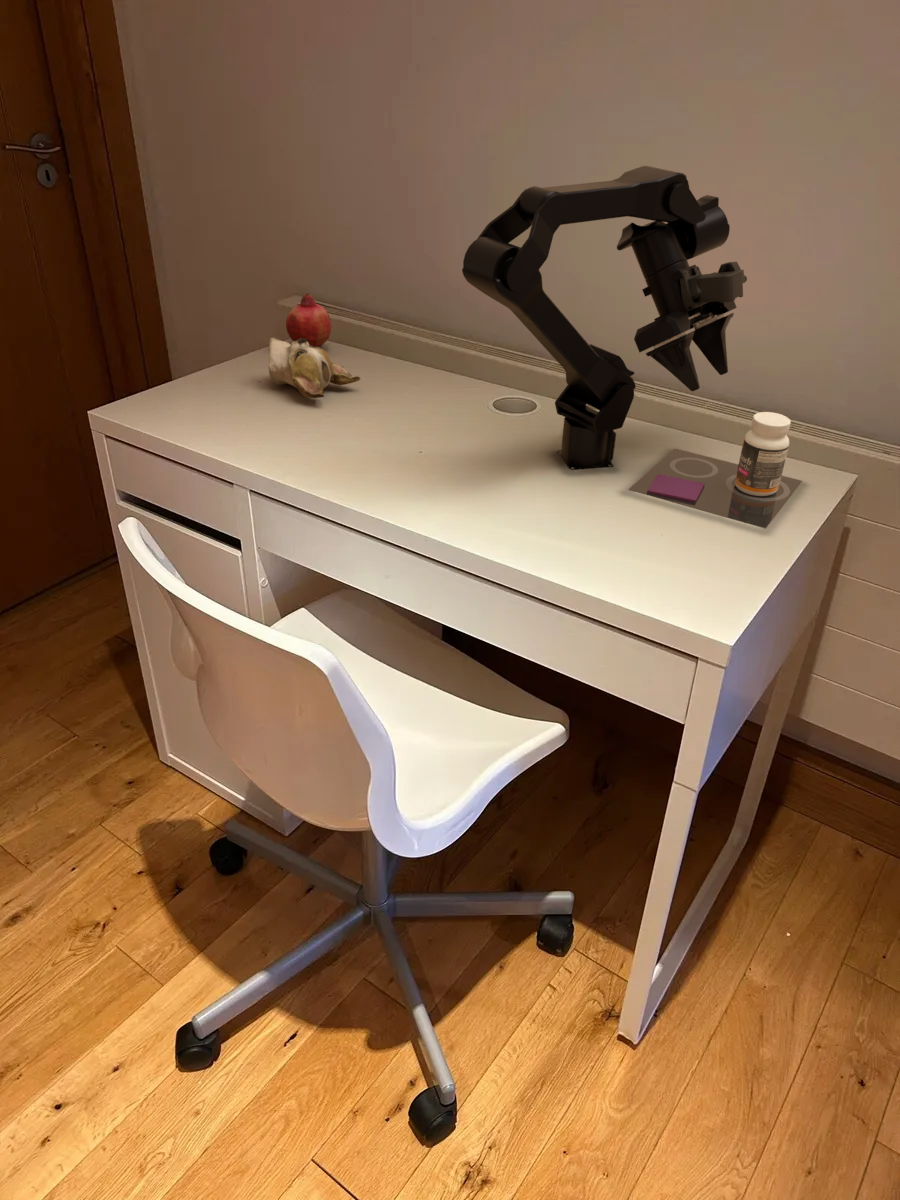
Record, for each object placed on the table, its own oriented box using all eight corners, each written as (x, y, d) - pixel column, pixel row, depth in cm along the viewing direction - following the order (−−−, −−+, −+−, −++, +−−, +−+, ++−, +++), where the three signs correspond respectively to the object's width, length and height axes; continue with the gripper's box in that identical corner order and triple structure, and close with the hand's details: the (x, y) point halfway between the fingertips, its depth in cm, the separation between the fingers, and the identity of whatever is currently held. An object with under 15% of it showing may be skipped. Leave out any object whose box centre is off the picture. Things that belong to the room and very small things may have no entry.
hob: (764, 532, 116) (765, 528, 116) (627, 493, 124) (627, 489, 124) (801, 484, 128) (802, 480, 127) (673, 451, 136) (674, 447, 136)
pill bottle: (728, 479, 127) (742, 409, 122) (769, 478, 128) (785, 409, 122) (741, 498, 122) (757, 427, 117) (784, 497, 123) (801, 427, 117)
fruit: (342, 349, 171) (339, 293, 165) (309, 359, 165) (306, 302, 160) (311, 339, 175) (308, 285, 169) (278, 349, 170) (274, 293, 164)
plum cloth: (695, 503, 121) (695, 500, 121) (646, 492, 123) (647, 490, 123) (704, 486, 125) (705, 483, 125) (657, 476, 127) (657, 473, 127)
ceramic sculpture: (292, 320, 155) (363, 343, 149) (294, 369, 160) (362, 394, 154) (247, 336, 148) (319, 361, 141) (250, 388, 153) (320, 414, 146)
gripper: (688, 251, 109) (737, 375, 112) (749, 231, 122) (792, 343, 124) (612, 291, 117) (659, 407, 119) (676, 269, 130) (718, 374, 132)
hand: (710, 381), depth 124 cm, fingers open, 9 cm apart
